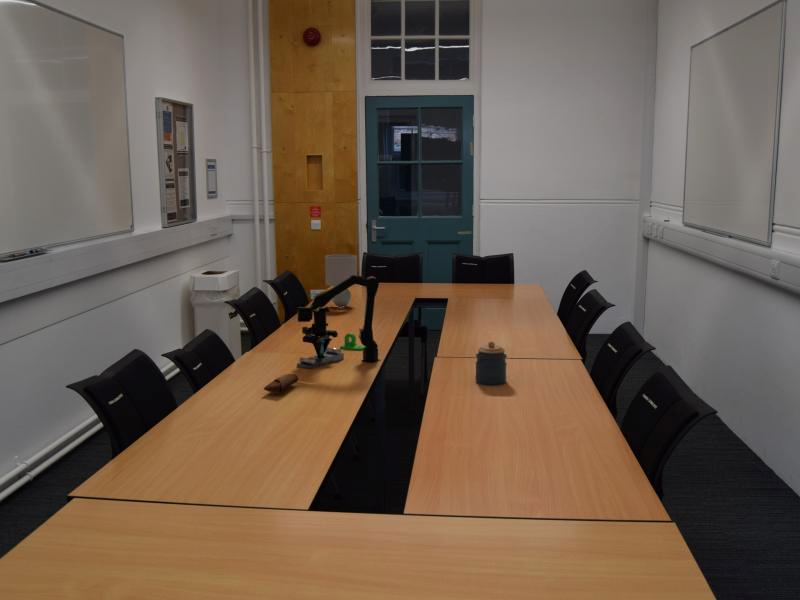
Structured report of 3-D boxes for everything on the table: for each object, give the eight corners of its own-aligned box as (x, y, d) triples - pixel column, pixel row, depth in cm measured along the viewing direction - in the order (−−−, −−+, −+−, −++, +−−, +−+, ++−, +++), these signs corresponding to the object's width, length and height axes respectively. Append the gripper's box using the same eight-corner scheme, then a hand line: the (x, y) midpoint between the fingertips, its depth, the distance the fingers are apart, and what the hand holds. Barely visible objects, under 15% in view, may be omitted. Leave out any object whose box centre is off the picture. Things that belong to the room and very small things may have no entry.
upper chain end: (343, 359, 382) (343, 348, 382) (321, 365, 369) (321, 354, 369) (330, 357, 387) (330, 346, 386) (308, 363, 374) (308, 352, 373)
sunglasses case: (279, 378, 340) (288, 366, 338) (292, 389, 340) (300, 377, 338) (262, 389, 323) (271, 377, 321) (275, 400, 322) (284, 388, 321)
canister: (474, 386, 334) (475, 344, 331) (475, 378, 346) (476, 338, 344) (506, 387, 332) (507, 345, 329) (506, 379, 345) (507, 338, 342)
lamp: (362, 311, 518) (362, 256, 513) (334, 314, 507) (334, 258, 502) (347, 307, 535) (347, 253, 529) (320, 309, 524) (319, 255, 519)
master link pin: (326, 358, 375) (326, 339, 374) (321, 360, 372) (320, 341, 370) (320, 357, 377) (319, 338, 376) (314, 359, 374) (314, 340, 373)
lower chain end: (332, 362, 376) (332, 354, 375) (310, 369, 363) (310, 360, 362) (319, 360, 380) (319, 352, 380) (296, 366, 367) (296, 358, 367)
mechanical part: (340, 350, 404) (340, 334, 403) (346, 348, 409) (346, 332, 408) (360, 352, 398) (360, 336, 397) (367, 350, 403) (366, 334, 402)
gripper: (319, 316, 384) (320, 349, 386) (293, 322, 369) (294, 356, 371) (338, 319, 378) (338, 351, 380) (311, 325, 363) (312, 359, 365)
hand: (320, 354), depth 374 cm, fingers closed on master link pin, 3 cm apart
